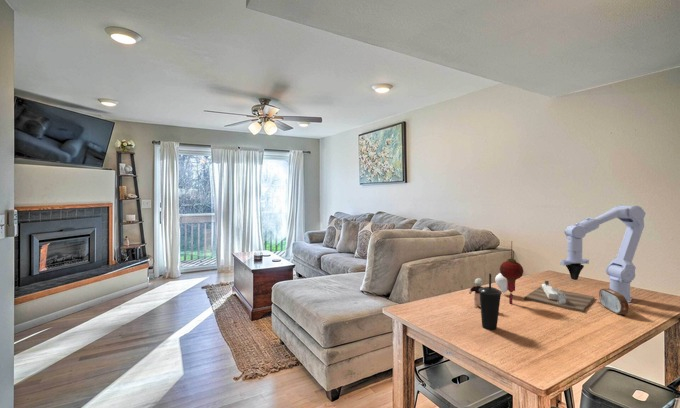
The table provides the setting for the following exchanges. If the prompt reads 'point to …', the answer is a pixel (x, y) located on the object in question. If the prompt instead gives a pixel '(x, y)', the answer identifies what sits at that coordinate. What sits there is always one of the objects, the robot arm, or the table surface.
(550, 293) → the pivot bar
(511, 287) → the lantern
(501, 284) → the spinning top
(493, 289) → the drinking cup
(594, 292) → the table surface
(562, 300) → the block
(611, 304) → the tin
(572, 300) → the pivot board
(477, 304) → the grandmother figurine
